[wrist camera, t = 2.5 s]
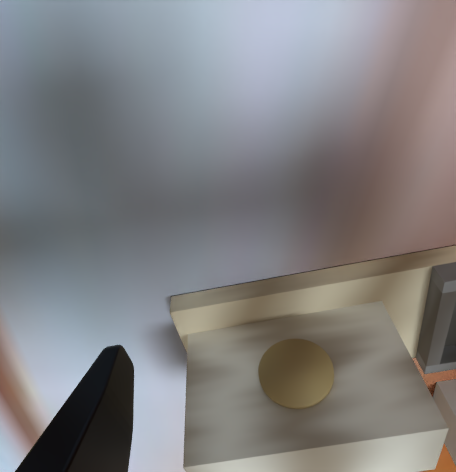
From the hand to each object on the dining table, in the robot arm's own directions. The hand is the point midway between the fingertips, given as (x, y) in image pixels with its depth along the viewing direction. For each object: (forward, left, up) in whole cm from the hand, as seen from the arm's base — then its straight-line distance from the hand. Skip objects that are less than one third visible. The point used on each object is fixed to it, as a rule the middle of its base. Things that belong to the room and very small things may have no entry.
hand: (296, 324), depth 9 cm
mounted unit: (-6, +11, -9) cm, 15 cm away
